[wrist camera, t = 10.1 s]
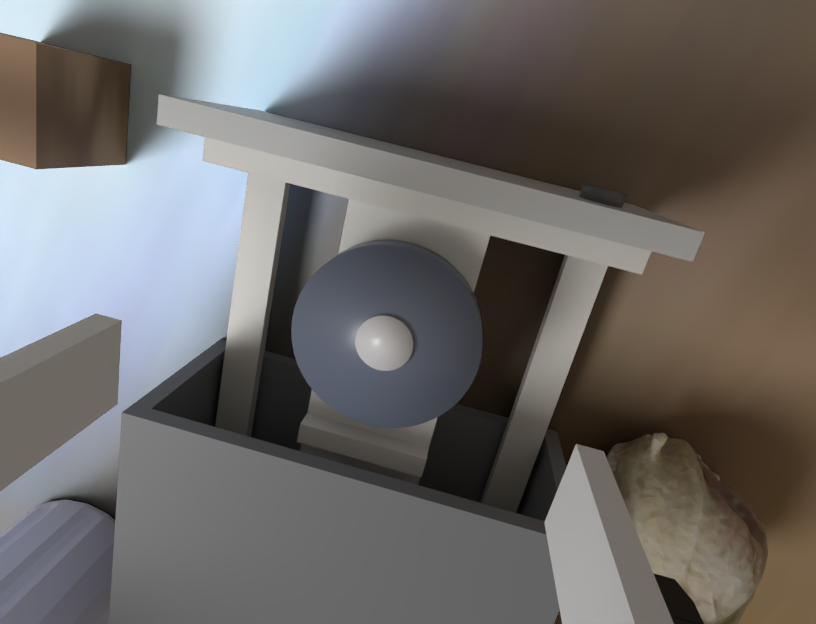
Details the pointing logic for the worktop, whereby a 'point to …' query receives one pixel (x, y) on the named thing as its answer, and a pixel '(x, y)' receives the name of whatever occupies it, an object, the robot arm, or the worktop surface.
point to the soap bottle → (57, 565)
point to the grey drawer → (427, 226)
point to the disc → (388, 334)
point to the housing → (317, 518)
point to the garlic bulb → (691, 524)
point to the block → (61, 106)
